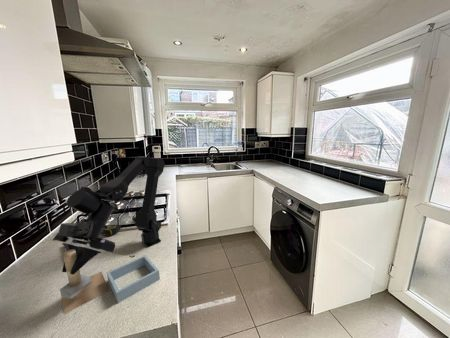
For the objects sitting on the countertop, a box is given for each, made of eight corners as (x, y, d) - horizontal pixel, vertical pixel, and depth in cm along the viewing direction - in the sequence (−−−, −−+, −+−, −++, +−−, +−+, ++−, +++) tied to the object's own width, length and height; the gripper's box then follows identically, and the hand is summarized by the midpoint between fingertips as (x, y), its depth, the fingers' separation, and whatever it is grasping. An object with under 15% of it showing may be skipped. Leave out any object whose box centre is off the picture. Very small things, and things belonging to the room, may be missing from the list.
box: (146, 265, 72) (145, 255, 71) (160, 282, 64) (158, 270, 63) (108, 284, 64) (106, 272, 63) (118, 306, 55) (116, 293, 54)
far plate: (101, 274, 68) (101, 271, 68) (110, 293, 60) (109, 290, 60) (61, 292, 61) (60, 289, 61) (64, 317, 52) (63, 314, 52)
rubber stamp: (82, 279, 60) (75, 245, 58) (91, 282, 59) (84, 247, 56) (61, 295, 54) (52, 257, 52) (71, 298, 53) (62, 260, 51)
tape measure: (122, 230, 100) (121, 223, 99) (114, 237, 93) (113, 230, 93) (109, 230, 100) (108, 223, 100) (100, 237, 94) (99, 230, 93)
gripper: (54, 207, 58) (15, 262, 50) (100, 213, 53) (64, 276, 45) (84, 219, 67) (55, 268, 59) (126, 225, 62) (101, 280, 54)
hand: (67, 273), depth 54 cm, fingers closed on rubber stamp, 3 cm apart
